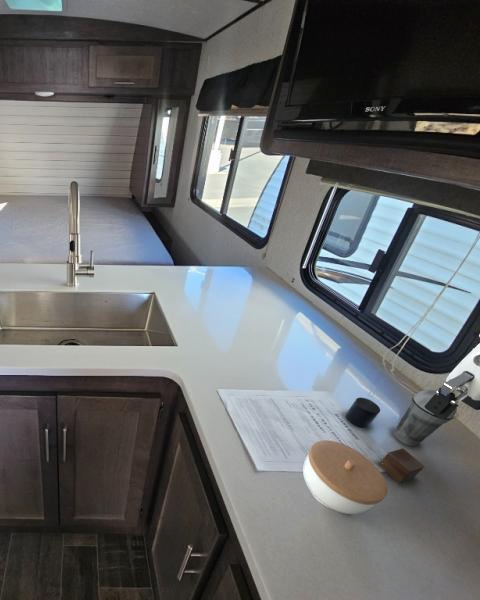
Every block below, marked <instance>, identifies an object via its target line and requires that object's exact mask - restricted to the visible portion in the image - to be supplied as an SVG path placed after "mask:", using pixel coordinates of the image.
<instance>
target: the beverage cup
mask: <svg viewBox="0 0 480 600" xmlns="http://www.w3.org/2000/svg"><path fill="white" fill-rule="evenodd" d="M461 388H463V386H461ZM437 391H438V390H436V389H425V390H421V391H418V392H417V393H416V394H415V395H413V396H412V397H411V400H410V403H409V406H408V408H407V410H406V411H405V412H404V414H403V416H402V417H401V418H400V421H399V422H398V424H397V425H396V427H395V429H394V430H393V435H394V437H395V438H396V439H397V440H398V441H399V442H400V443H402V444H404V445H407V446H410V447H415V446H417V445H419V444H420V443H422V442H423V441H424V440H425V439H427V438H428V437H429V436H431V435H432V434H433V433H434V432H435V431H437V430H438V429H439V428H440V427H441V426H443V425H444V424H447V423H449V422H450V421H451V420H453V419H455V416H456V414H457V411H458V407H457V408H456V409H455V410H454V411H453V412H452V413H451V414H450V415H449V416H448V417H447V418H446V419H444V420H442V419H440V418H439V417H437V416H436V415H434V414H433V413H431V412H430V411H428V410H427V409H426V408H425V407H424V406H425V405H426V404H427V403H428V401H429V400H430V399H431V398H432V397H433V396H434V395H435V393H436V392H437ZM453 393H455V394H456V393H457V391H456V390H455V391H454V392H453Z"/></svg>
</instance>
